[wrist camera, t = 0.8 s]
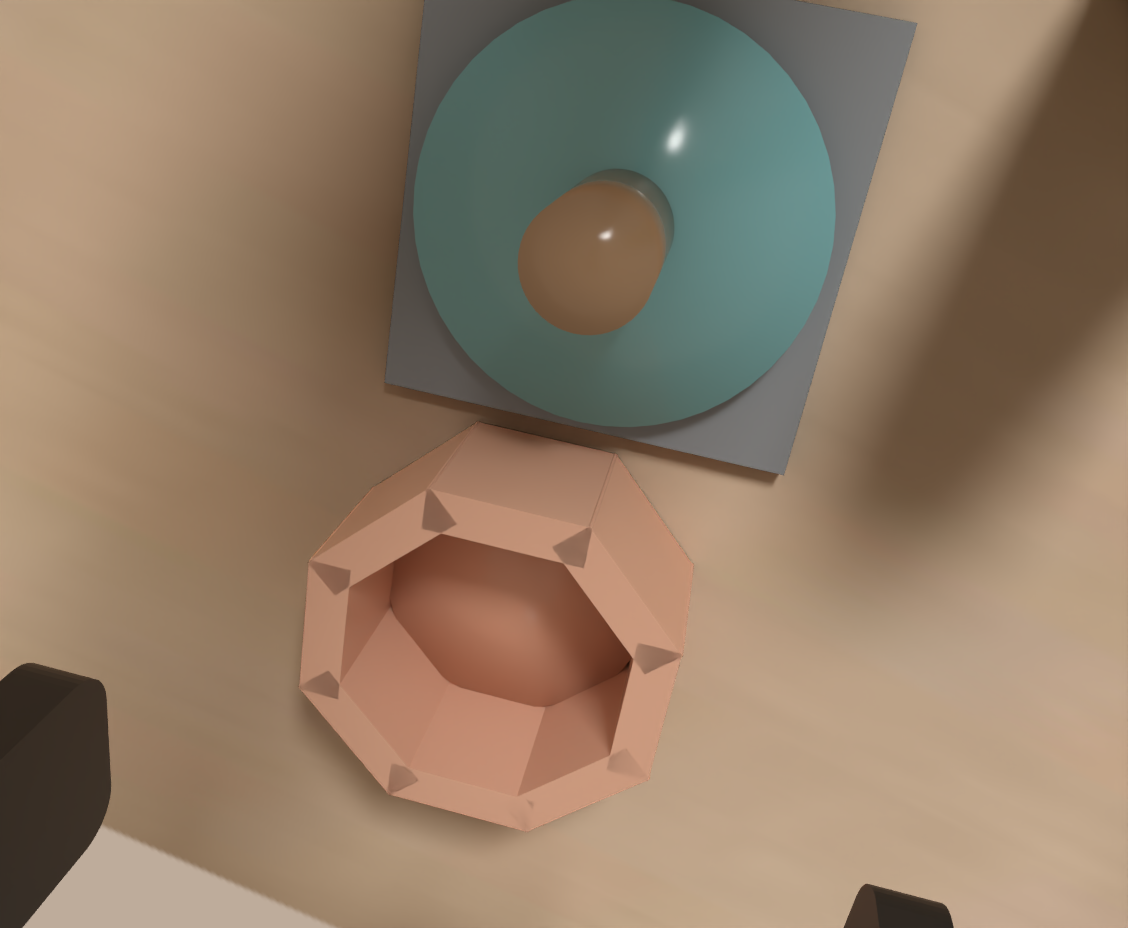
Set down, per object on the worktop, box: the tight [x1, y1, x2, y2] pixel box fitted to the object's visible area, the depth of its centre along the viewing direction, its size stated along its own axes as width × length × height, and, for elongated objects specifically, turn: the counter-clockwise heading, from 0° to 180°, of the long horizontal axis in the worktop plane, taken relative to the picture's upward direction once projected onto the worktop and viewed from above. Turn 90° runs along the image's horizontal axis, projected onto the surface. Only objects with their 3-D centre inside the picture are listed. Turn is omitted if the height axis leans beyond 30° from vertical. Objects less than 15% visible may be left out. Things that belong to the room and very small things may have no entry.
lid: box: [413, 0, 836, 427], centre depth 24 cm, size 11×11×6 cm
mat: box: [385, 0, 917, 475], centre depth 27 cm, size 12×12×1 cm
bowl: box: [298, 421, 694, 832], centre depth 30 cm, size 10×10×5 cm
